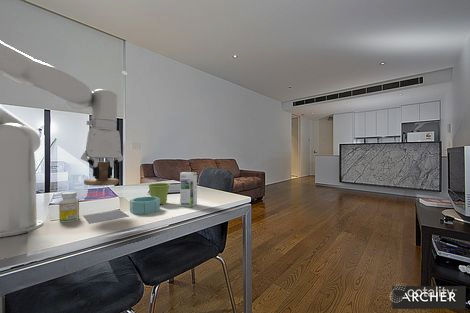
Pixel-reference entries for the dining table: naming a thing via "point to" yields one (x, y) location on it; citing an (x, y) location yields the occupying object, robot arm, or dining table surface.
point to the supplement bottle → (69, 207)
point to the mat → (105, 216)
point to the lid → (102, 176)
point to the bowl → (144, 205)
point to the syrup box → (188, 189)
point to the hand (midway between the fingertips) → (102, 177)
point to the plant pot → (159, 191)
